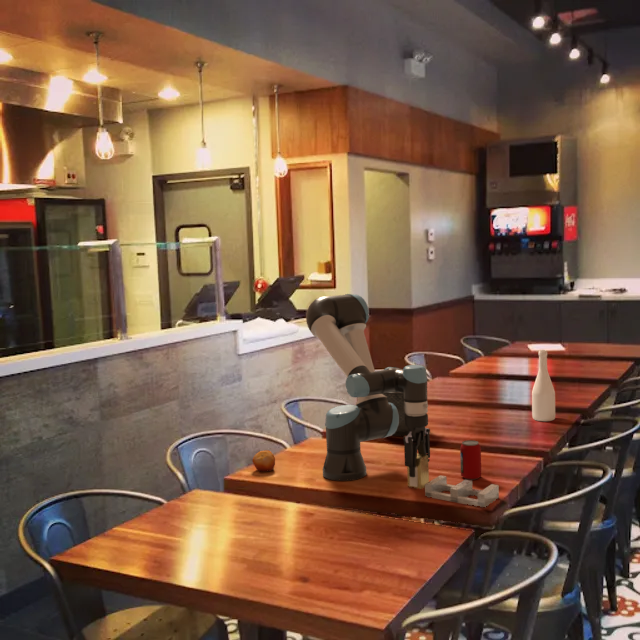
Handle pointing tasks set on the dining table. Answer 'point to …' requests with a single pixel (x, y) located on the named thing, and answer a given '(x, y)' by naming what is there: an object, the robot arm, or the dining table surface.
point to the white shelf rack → (461, 492)
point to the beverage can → (470, 459)
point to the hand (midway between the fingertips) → (418, 483)
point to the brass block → (421, 471)
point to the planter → (398, 401)
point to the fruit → (264, 461)
